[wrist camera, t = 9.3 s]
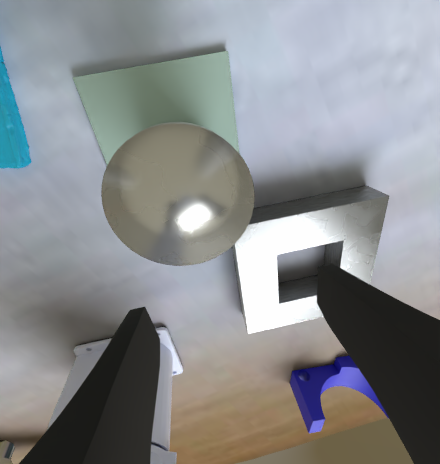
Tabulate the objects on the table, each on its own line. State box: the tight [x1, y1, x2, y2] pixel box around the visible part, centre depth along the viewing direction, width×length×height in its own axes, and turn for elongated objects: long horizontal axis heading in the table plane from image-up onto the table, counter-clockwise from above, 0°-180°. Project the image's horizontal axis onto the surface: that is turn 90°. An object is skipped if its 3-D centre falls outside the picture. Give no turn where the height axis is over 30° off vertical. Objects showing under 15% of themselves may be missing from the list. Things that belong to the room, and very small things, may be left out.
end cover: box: [101, 121, 255, 266], centre depth 12 cm, size 5×5×9 cm
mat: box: [73, 51, 239, 165], centre depth 16 cm, size 9×9×1 cm
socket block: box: [232, 186, 389, 334], centre depth 21 cm, size 12×12×2 cm
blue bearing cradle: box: [290, 356, 389, 433], centre depth 30 cm, size 12×4×6 cm, turn 91°
